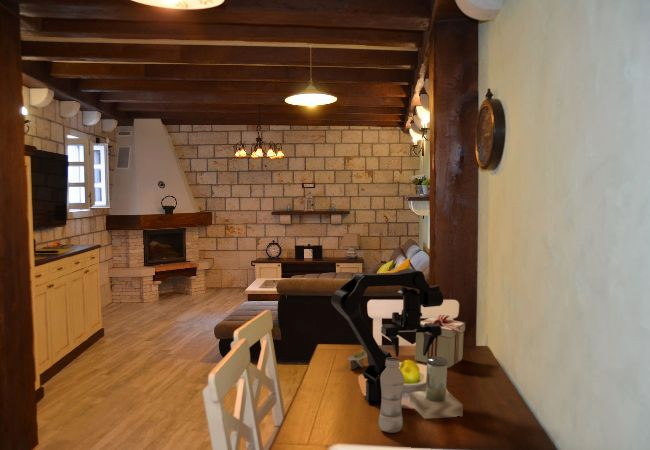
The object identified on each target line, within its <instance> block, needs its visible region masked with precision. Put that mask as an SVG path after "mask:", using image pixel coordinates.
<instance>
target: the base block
mask: <svg viewBox="0 0 650 450" xmlns="http://www.w3.org/2000/svg"><path fill="white" fill-rule="evenodd" d="M409 395H410V396H409V397H410V398H409V404H410V403H411V404H412V405H413V406H414V407H415V408H414V407H413V406H412V405H411V404H410V405H411V406H412V407H413V408H414V409H415V411H417V412H418V414H419V415H420V416H421V417H422V419H424V420H427V419H440V418H442V419H444V418H454V417H455V418H458V417H457V416H460V417H463V414H464V412H463V411H464V404H463V403H462V402H461V401H460V400H458V399H457V398H456V397H455V396H454V395H453V394H452V393H450V392H449V391H448V390H447V389H446V400H445V401H442V402H435V401H430V400H428V399H426V390H424V391H423V390H422V391H410V393H409Z"/></svg>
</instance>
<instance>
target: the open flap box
mask: <svg viewBox="0 0 650 450" xmlns="http://www.w3.org/2000/svg"><path fill="white" fill-rule="evenodd" d="M352 353H353V354H352V355H350V356H349V357H347V360H348V361H350V371H352V370H355V369H357V368H358V367H361V368H363V367H364V361H365V359H364V358H367V353H366V351H365V350H364V349H359V350H357V351H355V352H352Z"/></svg>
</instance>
